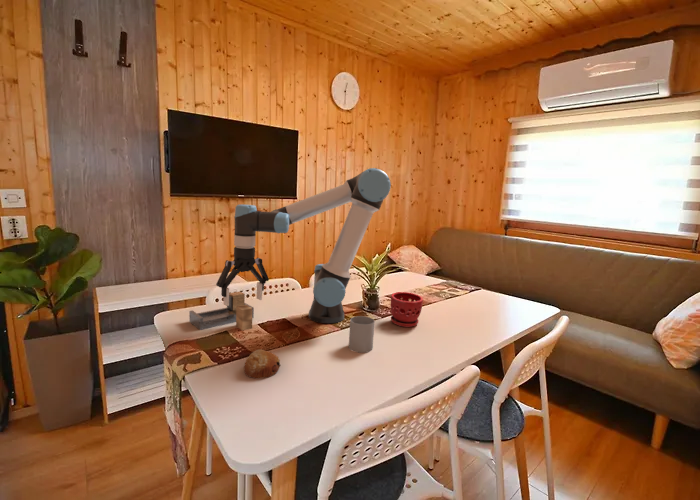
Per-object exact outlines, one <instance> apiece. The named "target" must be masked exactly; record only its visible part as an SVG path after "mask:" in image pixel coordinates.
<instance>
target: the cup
mask: <svg viewBox="0 0 700 500" xmlns="http://www.w3.org/2000/svg"><path fill="white" fill-rule="evenodd" d="M375 324H376V323H375V320H374V318H372V317H370V316H366V315H365V316H364V315H357V316H352V317H351V318H350V319H349V334H348V335H349V337H348V348H349V350H350V351H352V352H355V353H362V354H365V353H369V352H372V350H373V349H374V335H375Z"/></svg>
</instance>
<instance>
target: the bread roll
mask: <svg viewBox="0 0 700 500" xmlns="http://www.w3.org/2000/svg"><path fill="white" fill-rule="evenodd" d="M280 361H281V360H280V359H279V356H277V355H276V354H274V353H273V352H271V351H267V350H264V349H256V350H255V351H252V352H251V353H250V354H249V356H248V357H247V358H246V360H245V362H244V365H243V371H244V373H245V375H246V376H247V377H249V378H251V379H264V378H269V377H272V376H274V375H276V374H277V373H278V372H279V370H280V367H281V364H280Z"/></svg>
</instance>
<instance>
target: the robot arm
mask: <svg viewBox="0 0 700 500" xmlns="http://www.w3.org/2000/svg"><path fill="white" fill-rule="evenodd" d="M391 184H392V183H391V180H390V177H389V176H388V174H387V173H386V172H385V171H383V170H382V169H379V168H376V167H375V168H374V167H373V168H371V167H370V168H367V169H365V170H364V171H363V170H362V172H360V173H359V174H357V175H356V176H354V177H352V178H350V179H347V180H345V181H344V183H343V184H341V185H338V186H335V187H333V188H330V189H327V190H325V191H322V192H320V193H317V194H314V195H312V196H309V197H306V198H303V199H301V200H299V201H298V200H297V201H296V202H294V203H290V204H288V205H285V206H283V207H280V208H277V209H274V210H271V211H261V210H258V209H257V206H256V205H254V204H237V205H236V206H235V209H234V216H233V217H234V236H233V237H234V239H233V244H234V245H233V246H235V247H234V248H233V260H225V264H224V268H223V270H222V272H221V273H220V276H219V278H218V280H217V281H216V287H219V288H221V294H220V295H221V297H222V298H223V305H224V306H226V307H227V306H229V293H230V288H229V286H230V284H231V283H232V282H233V281H234V280H235V278H236V277H237V275H239V273H240V272H241V273H244V272H251V274H252V275H253V276H254V277H255V278H256V280H257V282H256V299H257V300H259V301H262V300H263V291H264V290H265V284H266V283H267V282H269V280H270V278H269V276H268V274H267V271H266V269H265V267H264V264H263V259H262V258H260V257H256V248H255V246H256V234H257V233H256V232H260V233H261V232H262V233H263V232H264V233H272V234H273V233H276V234H286V233H288V232H289V229H290V225H293V224H295V223H298V222H301V221H303V220H306V219H309V218H312V217H314V216H316V215H319V214H322V213H325V212H328V211H331V210H333V209H335V208H338V207H341V206H343V205H346V204H348V203H351V206H350V209H349V211H348V214H347V217H346V219H345V221H344V222H343V223H344V224H343V226H342V228H341V231H340V233H339V235H338V238H337V240H336V242H335V245H334V247H333V250H332V251H331V254H330V257H329V259H328V262H326V263H319V264H317V263H316V265H314V270H313V271H314V277H313V278H314V280H313V282H314V283H313V290H312V293H313V298H312V299H313V300H312V303H311V306H310V309H309V311H308V318H309V319H310V320H311V321H313V322H316V323H320V324H335V323H339V322H341V321H344V319H345V311H344V307H343V303H342V302H343V300H344V298H345V296H346V288H347V286H348V284H349V281H350V279H351V277H352V276H351V273H350V269H351V266H352V264H353V262H354V259H355V258H356V256H357V253H358V250H359V248H360V245H361V243H362V241H363V238H364V236H365V233H366V231H367V230H368V227H369V225H370V222H371V220H372V217H373V215H374V213H375V212H379V211H380V209H381V206H382V204H383V202H384V200H385V199H386V198H387V196H388V195H389V194H390V191H391V187H392V186H391ZM255 257H256V258H255ZM255 264H256V265H257V269H258V271H259V272H258V271H257V269H256V268H255V267H254V265H255ZM232 267H233V268H232ZM231 268H232V269H231Z"/></svg>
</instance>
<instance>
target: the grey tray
mask: <svg viewBox="0 0 700 500" xmlns="http://www.w3.org/2000/svg"><path fill="white" fill-rule="evenodd" d="M245 296H246V295H245V293H244V292H242V291H234V292H229V306H226V307H222V308H219V309H218V308H217V309H212V310H207V311H201V312H198V313H197V312H196V311H194V310H189V311H188V312H189V315H188V316H189V323H190V324H192V326H194V327H195V328H196V329H198V330H199V331H202V330H206V329H210V328H215V327H220V326H224V325H228V324H233V323H236V307H237V306H243V305H247V306H249V307H251V308H252V319H254V306H252V305H250V304H248V303H246V302H245V298H246V297H245Z"/></svg>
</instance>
